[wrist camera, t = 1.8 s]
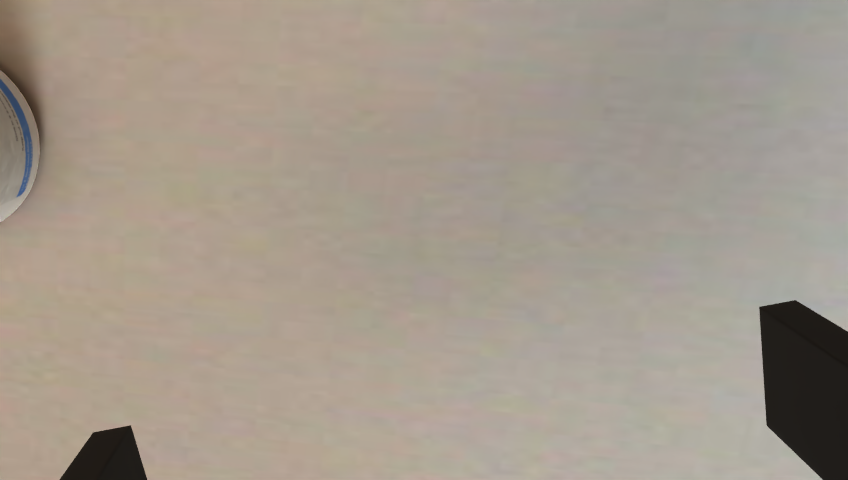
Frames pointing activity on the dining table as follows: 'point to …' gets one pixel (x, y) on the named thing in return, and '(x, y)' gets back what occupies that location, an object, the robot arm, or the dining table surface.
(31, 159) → the supplement tub
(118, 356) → the dining table surface
